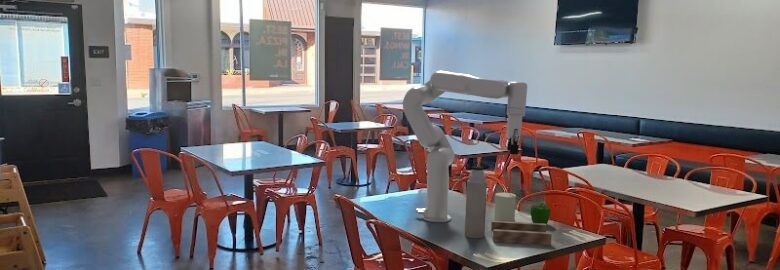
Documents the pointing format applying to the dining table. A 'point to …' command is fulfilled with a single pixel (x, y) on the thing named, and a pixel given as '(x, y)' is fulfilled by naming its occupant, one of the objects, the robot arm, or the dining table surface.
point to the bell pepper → (540, 213)
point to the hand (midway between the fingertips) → (512, 152)
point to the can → (505, 207)
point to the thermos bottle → (476, 203)
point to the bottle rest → (520, 233)
